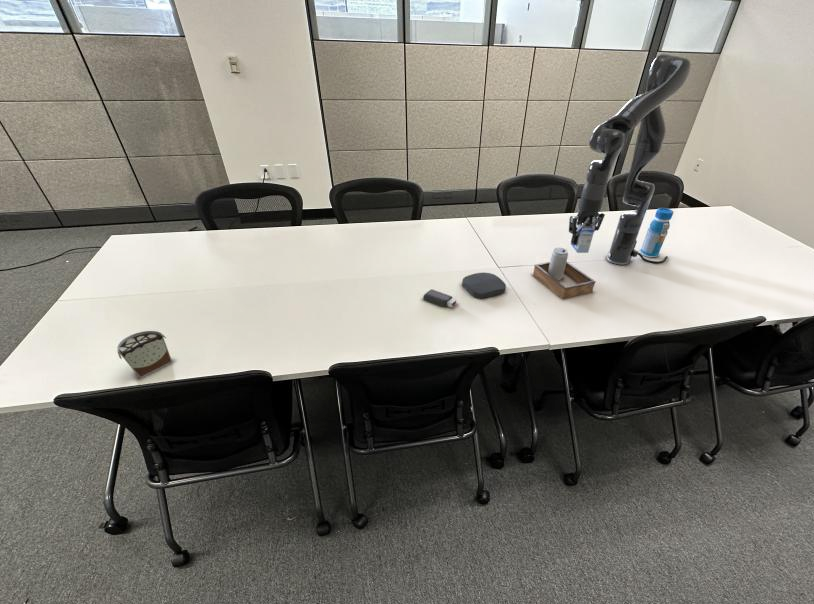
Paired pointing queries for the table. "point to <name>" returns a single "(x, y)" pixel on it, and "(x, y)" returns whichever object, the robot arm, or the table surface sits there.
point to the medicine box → (584, 239)
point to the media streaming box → (483, 285)
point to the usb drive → (439, 298)
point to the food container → (144, 352)
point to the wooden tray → (558, 288)
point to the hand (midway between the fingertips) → (580, 243)
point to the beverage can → (558, 263)
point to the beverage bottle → (656, 233)
